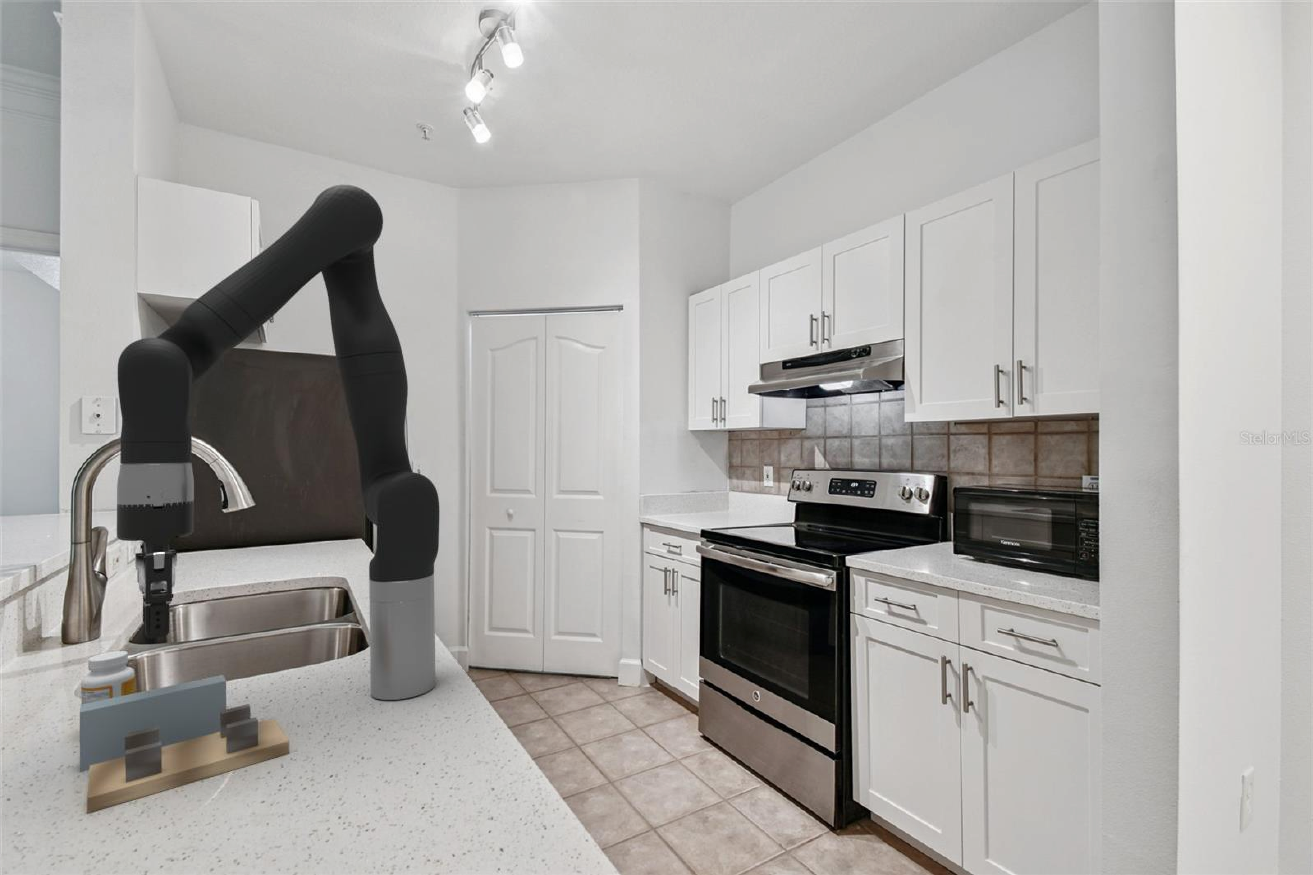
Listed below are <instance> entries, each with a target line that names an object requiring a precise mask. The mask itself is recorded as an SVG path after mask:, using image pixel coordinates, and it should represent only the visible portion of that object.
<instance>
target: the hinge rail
mask: <svg viewBox="0 0 1313 875" xmlns="http://www.w3.org/2000/svg"><path fill="white" fill-rule="evenodd" d="M250 705H251V704H249V703H247V704H244V705H239V706H238V705H237V706H235V707H231V708H226V710H222V711H220V732H217V733H213V734H210V735H206V736H202V737H198V738H194V739H190V740H187V741H183V742H179V743H175V744H171V745H167V746H163V747H162V745H161V742H159V727H158V726H156V727H151V728H147V729H143V730H139V731H135V732H131V733H127V734H125V757H121V758H117V759H113V760H110V761H106V762H102V763H98V764H94V765H90V769H89V770H88V782H87V795H86V813H87V814H89V813H93V812H96V811H100V810H103V809H106V808H110V807H113V806H116V805H120V804H123V803H127V802H130V801H134V800H136V799H139V798H144V797H147V796H151V795H154V794H158V793H160V792H163V791H167V790H170V789H174V788H177V787H180V786H185V785H187V784H190V783H193V782H194V783H195V782H197V781H201V780H204V779H208V778H211V777H214V776H218V775H220V774H224V773H228V772H230V771H235V770H238V769H241V768H245V767H248V766H251V765H255V764H258V763H261V762H265V761H268V760H269V761H270V760H271V759H274V758H278V757H281V756H285V755H288V754H290V741H289V739H288V738H287V735H286V734H285V732H284V730H283V729H282V727H281V725H280V724H279V722H278V721H277V719H276V718H275V717H272V718H267V719H265V720H260V721H259V720H258V718H257V716H256V717H252V716H251V715H252V714H251V706H250ZM251 717H252V718H251Z"/></svg>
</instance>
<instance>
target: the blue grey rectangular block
mask: <svg viewBox="0 0 1313 875" xmlns="http://www.w3.org/2000/svg"><path fill="white" fill-rule="evenodd" d="M226 709H227V680H226V678H225V676H224V674H220V675H216V676H212V677H206V678H203V679H196V680H192V681H187V682H182V683H178V684H177V683H176V684H173V685H168V686H163V687H159V688H154V689H149V690H144V691H140V692H135V693H134V694H129V695H125V696H120V697H115V698H110V699H106V700H101V701H96V702H91V703H87V704H82V705H81V704H80V709H79V773H83V772H86V771H89V769H90V765H94V764H98V763H102V762H106V761H110V760H113V759H117V758H121V757H125V734H127V733H131V732H135V731H139V730H143V729H147V728H151V727H156V726H158V727H159V742H161V745H162V747H163V746H167V745H171V744H175V743H179V742H183V741H187V740H190V739H194V738H198V737H202V736H206V735H210V734H213V733H217V732H220V711H222V710H226Z"/></svg>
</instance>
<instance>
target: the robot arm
mask: <svg viewBox="0 0 1313 875" xmlns="http://www.w3.org/2000/svg"><path fill="white" fill-rule="evenodd" d="M383 226H384V217H383V212H382V208H381V206H380V205H379V202H377V200H376V199H375V198H374V197H373V196H372V195H371V194H370V193H369V192H367V191H366V190H364V188H361V187H358V186H354V185H351V184H337V185H333V186H330V187H328V188H326V189H324V190H323V191H322V192H321V193H319V195H317V197H316V198H315V200H314V202H313V203H312V204H311V206H309V208H308V209H307V210H306V211H305V212H304V213H303V215H301V216H300V218H299V219H298V220H297V221H296V223H294V224H293V225H292V226H290V227H289V229H287V231H286V232H284V233H283V234H282V235H281V236H280V237H279V238H277V239H276V240H275V241H274V242H273V243H272V244H270V245H269V246H268V247H266V249H264V250H263V251H261V252H260V253H259V254H257V255H256V256H255V257H254V258H252V259H250V260H249V261H248V262H247V263H245V264H243V265H242V266H241V267H239V268H238V269H237V270H235V271H234V272H232V273H231V274H229V275H228V276H227V277H225V278H224V279H222V280H221V281H220V282H218V283H217V284H215V285H214V286H213V287H212V288H210V289H209V290H207V291H206V292H205V293H203V294H202V295H200V297H198V298H197V299H196V300H194V301H193V302H192V303H190V304H189V305H187V307H186V308H185V309H184V310H183V311H182V312H181V314H180V316H179V318H178V319H177V320H176V322H174V324H172V325H171V326H170V327H168V328H167V329H166V330H164V331H163V332H162V333H160V334H159V335H158V336H156V337H147V338H146V337H144V338H141V339H138V340H135V341H133V342H131V343H129V344H128V345H127V346H126V347H125V348H124V349H123V351H121V353H120V356H119V358H118V363H117V388H118V399H119V407H120V412H121V413H120V414H121V432H120V450H119V451H120V458H119V459H120V460H119V462H120V465H119V470H118V477H117V484H116V485H117V486H116V538H117V539H118V540H120V541H123V542H124V541H127V542H138V541H141V544H140V546H139V547H140V549H141V552H136V553H135V554H134V555H135V556H134V557H135V560H134V562H135V564H134V566H135V570H136V571H137V574H136V576H137V578H136V579H137V583H138V590H139V592H141V594H142V623H143V624H145V626H144V628H145V629H144V630H145V631H144V632H145V633H144V634H145V638H146V639H150V640H151V639H156V638H163V637H166V636H169V633H170V605H171V604H172V602H173V598H174V593H173V587H175V586H176V566H177V563H178V555H177V551H176V550H175V549H170V541H171V540H173V539H174V538H184V537H188V536H190V535H192V534H193V532H194V530H195V529H194V528H195V526H194V523H195V522H194V519H195V518H194V517H195V516H194V515H195V513H194V512H195V511H194V510H195V509H194V508H195V506H194V505H195V503H194V502H195V495H194V494H195V482H194V480H195V479H194V473H193V465H192V464H193V463H192V462H193V461H192V456H193V455H192V454H193V452H192V450H193V447H192V446H193V444H192V443H193V441H192V439H193V438H192V436H193V435H192V429H191V426H190V425H191V424H190V421H189V406H190V405H189V404H190V387H192V386H193V385H194V384H195V383H196V382H198V380H200V379H201V378H202V377H203V376H204V375H205V374H206V373H207V372H208V371H209V370H210V369H211V368H212V367H213V366H214V365H215V364H216V363H217V362H218V361H219V360H220V359H222V357H223V356H224V355H225V354H227V353H228V352H230V351H231V350H233V349H234V348H236V347H237V346H238V345H240V344H241V343H242V342H243V341H245V340H246V339H247V338H248V337H249V336H251V335H252V334H254V332H256V331H257V330H259V329H260V328H261V327H263V325H264V324H266V323H267V322H268V321H270V319H272V318H273V316H275V315H276V314H277V313H278V312H279V311H280V310H281V309H282V308H283V307H284V306H285V305H286V304H287V303H288V302H289V301H290V300H291V299H292V298H293V297H294V296H296V294H298V292H300V290H301V289H303V287H304V286H306V284H308V283H309V282H310V281H311V280H312V279H313V278H315V277H317V276H318V275H319V274H320V273H321V275H322V278H323V281H324V285H325V289H326V293H327V298H328V299H327V300H328V305H329V306H328V308H329V317H330V325H331V332H332V333H331V334H332V339H333V345H334V353H335V354H334V355H335V359H336V363H337V364H336V365H337V369H338V372H339V378H340V383H341V387H342V392H343V395H344V399H345V404H346V408H347V413H348V418H349V422H350V426H351V429H352V433H353V437H354V441H355V444H356V450H357V451H356V452H357V457H358V458H357V459H358V461H357V462H358V468H359V481H360V494H361V504H362V508H363V511H364V514H365V515H366V518H368V520H369V521H370V522H371V523H372V524H374V525H375V526H376V547H375V553H374V556H373V557H372V558H371V560H370V561H369V565H368V574H369V575H368V579H369V580H368V582H369V584H368V586H369V587H368V588H369V589H368V591H369V594H368V595H369V651H370V652H369V657H370V658H369V660H370V666H369V667H370V669H369V670H370V675H369V676H370V678H369V679H370V695H371V697H372V698H374V699H378V700H382V701H386V700H387V701H393V700H404V699H409V698H413V697H417V696H420V695H423V694H425V693H427V692H430V691H431V690H432V689H434V688H435V685H436V628H435V627H436V626H435V624H436V623H435V622H436V621H435V620H436V616H435V614H436V613H435V612H436V609H435V561H436V560H437V556H438V554H439V546H440V541H439V540H440V499H439V495H438V494H439V493H438V490H437V488H436V486H435V484H434V483H433V482H432V480H430V479H429V478H428V477H427V476H425V475H423V474H422V473H418V472H413V470H412V466H411V462H410V458H409V453H408V451H407V450H408V449H407V445H406V438H405V426H406V424H405V423H406V414H407V406H408V395H409V394H408V393H409V392H408V390H409V389H408V388H409V387H408V376H407V370H406V364H405V359H404V355H403V354H404V353H403V349H402V344H401V342H400V338H399V335H398V332H397V331H396V328H395V326H394V323H393V321H392V318H391V317H390V314H389V312H388V311H387V308H386V307H385V304H384V302H383V299H382V296H381V293H380V290H379V285H378V281H377V272H376V267H375V266H376V265H375V255H374V254H375V253H374V247H375V244H377V241H378V240H379V239H380V238H381V235H382V231H383Z"/></svg>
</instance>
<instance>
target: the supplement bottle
mask: <svg viewBox="0 0 1313 875" xmlns="http://www.w3.org/2000/svg"><path fill="white" fill-rule="evenodd" d="M87 662H88V663H87V668H88V671H89V673H87V674H86V675H85V676H84V677H83V678H82V680H81V683H80V685H81V686H80V687H81V688H80V691H81V701H80V702H81V703H80V706H81V705H82V704H87V703H91V702H96V701H101V700H106V699H110V698H115V697H120V696H125V695H129V694H134V693H136V691H135V690H136V686H135V685H136V681H135V680H136V678H135V677H136V676H135V675H136V674H135V669H134V668H132V667H129V666H127V664H128V662H129V653H128V651H125V650H118V651H117V650H116V651H110V652H104V653H101V654H97V655H94V656H91V657H90V658H88V661H87Z"/></svg>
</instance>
